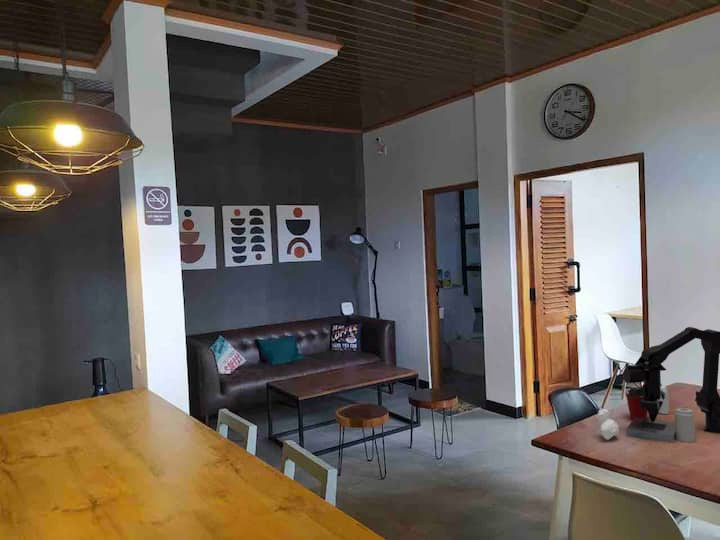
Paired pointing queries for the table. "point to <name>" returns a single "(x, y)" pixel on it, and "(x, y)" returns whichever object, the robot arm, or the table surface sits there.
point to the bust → (607, 424)
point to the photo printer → (664, 401)
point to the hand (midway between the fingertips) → (653, 420)
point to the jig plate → (652, 430)
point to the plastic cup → (635, 407)
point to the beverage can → (684, 425)
